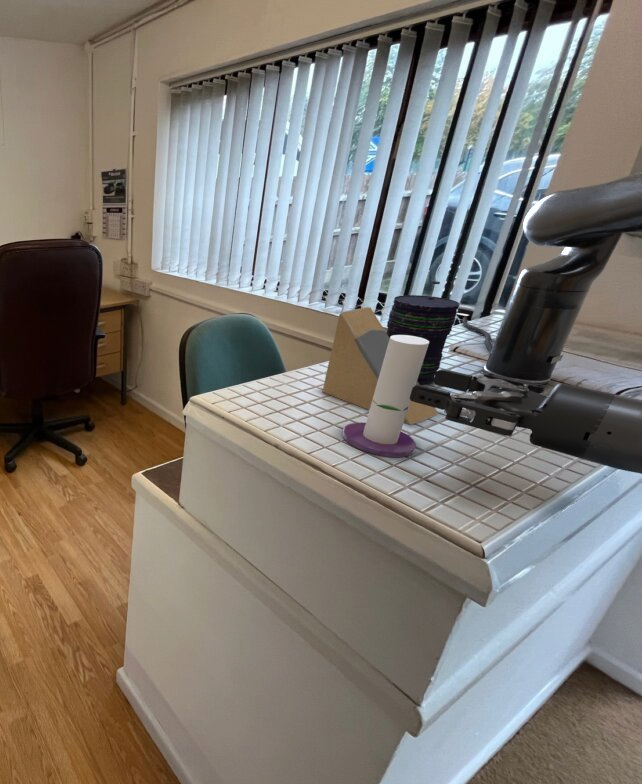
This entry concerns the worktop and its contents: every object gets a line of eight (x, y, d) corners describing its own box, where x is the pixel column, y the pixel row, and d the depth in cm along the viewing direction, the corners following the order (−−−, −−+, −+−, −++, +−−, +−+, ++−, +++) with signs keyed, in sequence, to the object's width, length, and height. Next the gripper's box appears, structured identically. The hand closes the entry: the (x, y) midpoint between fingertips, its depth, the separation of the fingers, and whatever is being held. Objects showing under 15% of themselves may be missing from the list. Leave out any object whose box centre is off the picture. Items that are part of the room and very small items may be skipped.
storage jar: (425, 390, 84) (457, 292, 77) (365, 375, 91) (389, 284, 84) (441, 376, 90) (473, 283, 82) (384, 363, 97) (408, 277, 89)
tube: (356, 430, 69) (382, 335, 63) (383, 429, 70) (411, 334, 64) (376, 445, 65) (406, 345, 59) (405, 443, 66) (437, 343, 60)
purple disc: (344, 421, 74) (345, 417, 73) (413, 435, 69) (414, 431, 69) (340, 446, 67) (341, 441, 67) (416, 464, 62) (418, 459, 62)
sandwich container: (411, 426, 72) (441, 334, 66) (320, 392, 84) (339, 312, 78) (441, 413, 75) (472, 325, 69) (350, 382, 88) (369, 305, 82)
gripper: (627, 379, 52) (450, 346, 64) (609, 416, 44) (412, 370, 56) (597, 437, 55) (434, 395, 67) (575, 481, 47) (395, 424, 59)
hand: (424, 383), depth 61 cm, fingers open, 8 cm apart
